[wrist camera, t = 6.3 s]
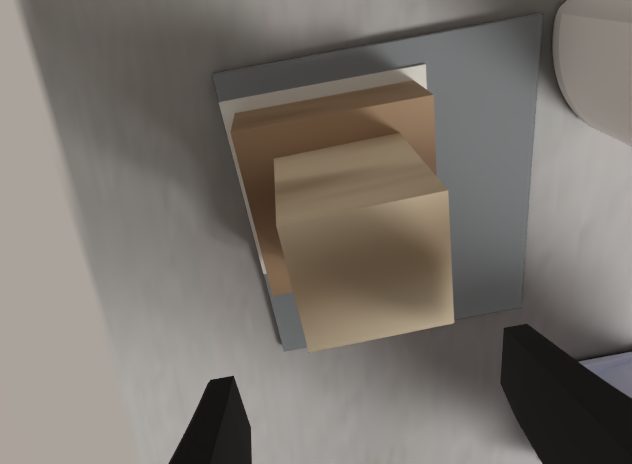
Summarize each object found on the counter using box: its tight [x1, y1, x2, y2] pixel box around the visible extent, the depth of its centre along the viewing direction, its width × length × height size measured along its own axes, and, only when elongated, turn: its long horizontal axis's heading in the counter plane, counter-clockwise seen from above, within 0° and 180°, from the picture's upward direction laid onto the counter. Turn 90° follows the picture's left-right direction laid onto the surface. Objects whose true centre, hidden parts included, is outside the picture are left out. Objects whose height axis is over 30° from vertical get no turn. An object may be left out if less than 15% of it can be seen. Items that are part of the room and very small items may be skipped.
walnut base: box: [230, 80, 437, 296], centre depth 19 cm, size 7×7×2 cm
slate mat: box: [212, 13, 543, 352], centre depth 21 cm, size 14×12×1 cm
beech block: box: [274, 133, 454, 353], centre depth 15 cm, size 4×4×5 cm
